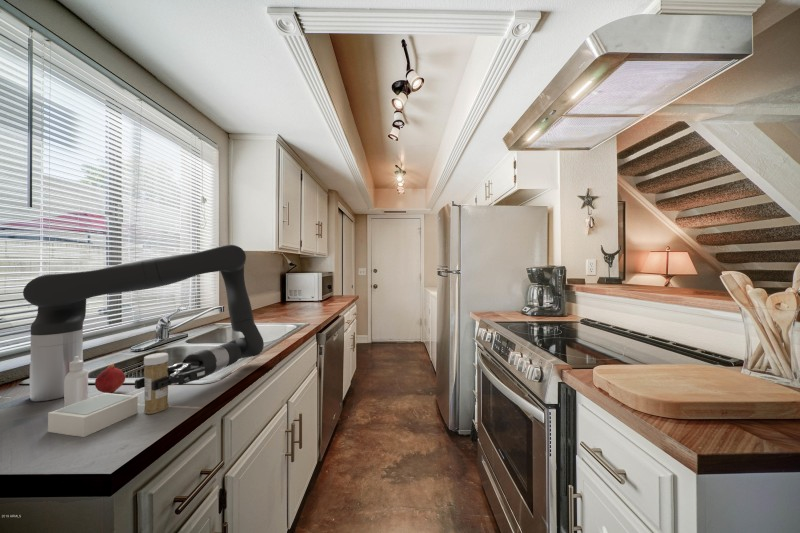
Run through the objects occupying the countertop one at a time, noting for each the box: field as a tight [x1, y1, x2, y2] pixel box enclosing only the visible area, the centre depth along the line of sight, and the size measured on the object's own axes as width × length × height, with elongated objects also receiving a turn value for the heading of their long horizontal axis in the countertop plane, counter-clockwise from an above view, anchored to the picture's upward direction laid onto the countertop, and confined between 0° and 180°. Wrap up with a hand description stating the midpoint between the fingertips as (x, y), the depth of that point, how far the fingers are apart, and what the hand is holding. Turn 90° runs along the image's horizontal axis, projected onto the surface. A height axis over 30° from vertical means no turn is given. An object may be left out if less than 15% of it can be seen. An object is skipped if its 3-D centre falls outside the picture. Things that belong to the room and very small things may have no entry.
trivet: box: [47, 392, 139, 438], centre depth 64 cm, size 10×10×4 cm
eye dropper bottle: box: [63, 356, 89, 407], centre depth 73 cm, size 4×6×12 cm
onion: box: [94, 363, 126, 394], centre depth 79 cm, size 6×6×8 cm
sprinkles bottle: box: [143, 352, 169, 415], centre depth 70 cm, size 5×5×14 cm
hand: (144, 385), depth 67 cm, fingers closed on sprinkles bottle, 4 cm apart
